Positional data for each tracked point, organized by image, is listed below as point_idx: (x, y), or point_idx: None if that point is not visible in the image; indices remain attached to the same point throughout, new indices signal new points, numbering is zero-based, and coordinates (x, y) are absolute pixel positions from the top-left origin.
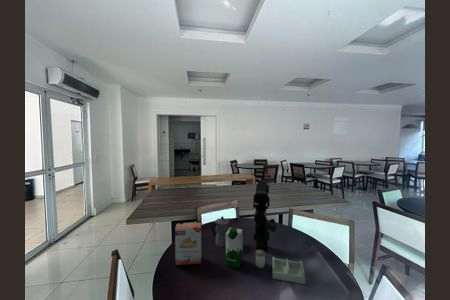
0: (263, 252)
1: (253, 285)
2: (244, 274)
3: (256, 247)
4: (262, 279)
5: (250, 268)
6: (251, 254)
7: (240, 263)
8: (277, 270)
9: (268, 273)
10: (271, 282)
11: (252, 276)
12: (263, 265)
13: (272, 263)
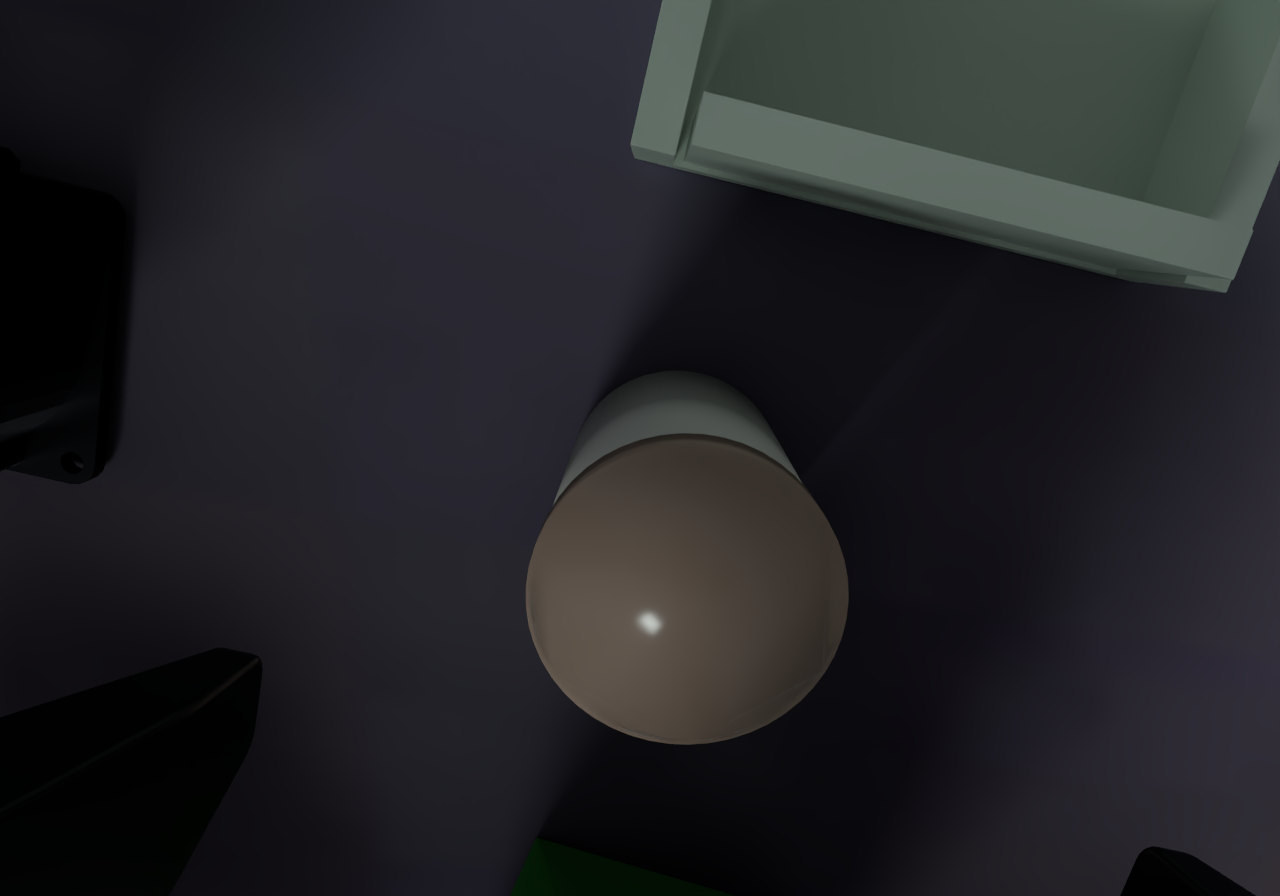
0: (697, 493)
1: (1255, 699)
2: (957, 822)
3: (19, 463)
4: (1131, 506)
5: None
6: (310, 612)
7: (655, 876)
8: (958, 97)
9: (971, 339)
10: (1240, 334)
11: (1025, 686)
12: (766, 421)
13: (687, 164)
